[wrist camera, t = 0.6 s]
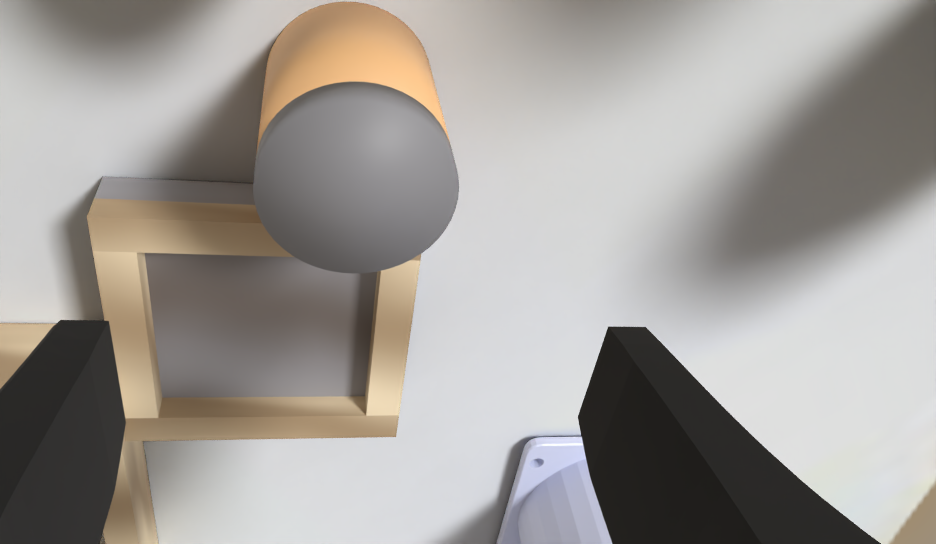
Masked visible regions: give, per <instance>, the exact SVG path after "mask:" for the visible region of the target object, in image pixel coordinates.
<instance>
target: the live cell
mask: <svg viewBox="0 0 936 544" xmlns="http://www.w3.org/2000/svg"><path fill="white" fill-rule="evenodd" d="M458 192H459V180H458V173H457V168H456V164H455V160H454V156H453V153H452V149H451V145H450V141H449V137H448V133H447V130H446V126H445V122H444V118H443V114H442V110H441V107H440V103H439V99H438V95H437V91H436V88H435V84H434V80H433V76H432V72H431V68H430V65H429V61H428V58H427V55H426V52H425V50H424V48H423V46H422V44H421V42H420V41H419V39H418V38H417V36H416V35H415V34H414V32H413V31H412V30H411V29H410V28H409V27H408V26H407V25H406V24H405V23H404V22H402V21H401V20H400V19H399V18H397V17H396V16H394V15H392V14H391V13H389V12H387V11H385V10H383V9H380V8H378V7H375V6H372V5H368V4H364V3H358V2H336V3H329V4H325V5H321V6H318V7H315V8H313V9H310V10H308V11H307V12H305V13H303V14H301V15H300V16H298V17H297V18H295V19H294V20H293V21H291V22H290V23H289V24H288V25H287V26H286V27H285V28H284V29H283V31H282V32H281V33H280V35H279V36H278V37H277V39H276V41H275V43H274V44H273V46H272V49H271V51H270V54H269V57H268V61H267V66H266V74H265V83H264V92H263V101H262V109H261V118H260V127H259V135H258V144H257V153H256V162H255V170H254V180H253V195H254V202H255V206H256V210H257V213H258V215H259V218H260V220H261V222H262V224H263V226H264V227H265V229H266V230H267V232H268V233H269V234H270V236H271V237H272V238H273V239H274V241H275V242H276V243H278V244H279V245H280V246H281V247H282V248H283V249H284V250H285V251H287V252H288V253H290V254H291V255H292V256H294V257H296V258H297V259H299V260H301V261H303V262H305V263H307V264H310V265H312V266H314V267H317V268H321V269H324V270H328V271H333V272H339V273H351V274H354V273H370V272H377V271H382V270H386V269H390V268H393V267H396V266H398V265H401V264H403V263H405V262H407V261H410V260H412V259H413V258H415V257H416V256H418V255H420V254H421V253H423V252H424V251H425V250H426V249H428V248H429V247H430V246H431V245H432V244H433V243H434V242H435V241H436V240H437V239H438V238H439V237H440V236H441V234H442V233H443V232H444V230H445V229H446V227H447V226H448V224H449V222H450V221H451V219H452V216H453V214H454V211H455V208H456V204H457V200H458Z"/></svg>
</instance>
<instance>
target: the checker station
mask: <svg viewBox="0 0 936 544" xmlns="http://www.w3.org/2000/svg"><path fill="white" fill-rule="evenodd" d="M87 222H88V228H89V233H90V239H91V245H92V251H93V257H94V262H95V268H96V274H97V280H98V286H99V292H100V297H101V303H102V309H103V315H104V321H109V324H110V330H111V336H112V342H113V348H114V354H115V360H116V366H117V372H118V378H119V384H120V390H121V396H122V402H123V407H124V413H125V419H126V426H125V432H124V438H123V445H122V451H121V458H120V464H119V469H118V475H117V481H116V486H115V491H114V495H113V498H112V502H111V505H110V509H109V512H108V516H107V519H106V523H105V526H104V529H103V534H104V538H105V543H106V544H158V538H157V531H156V525H155V518H154V511H153V505H152V498H151V492H150V485H149V478H148V472H147V465H146V459H145V452H144V445H143V441H176V440H236V439H296V438H356V437H396V433H397V425H398V418H399V411H400V404H401V396H402V389H403V382H404V375H405V368H406V360H407V353H408V346H409V339H410V331H411V324H412V317H413V310H414V303H415V295H416V288H417V281H418V274H419V266H420V259H421V254H420V255H418V256H416V257H415V258H413V259H412V260H410V261H407V262H405V263H403V264H401V265H398V266H396V267H393V268H390V269H386V270H382V271H377V272H370V273H354V274H351V273H339V272H333V271H328V270H324V269H321V268H317V267H314V266H312V265H310V264H307V263H305V262H303V261H301V260H299V259H297V258H296V257H294V256H292V255H291V254H290V253H288V252H287V251H285V250H284V249H283V248H282V247H281V246H280V245H279V244H278V243H276V242H275V241H274V239H273V238H272V237H271V236H270V234H269V233H268V232H267V230H266V229H265V227H264V226H263V224H262V222H261V220H260V218H259V215H258V213H257V210H256V206H255V202H254V195H253V184H251V183H230V182H208V181H187V180H165V179H144V178H122V177H102V180H101V182H100V185H99V187H98V190H97V192H96V195H95V197H94V200H93V202H92V205H91V207H90V210H89V213H88V215H87ZM54 325H55V324H29V323H0V389H1V388H2V386H3V385H4V384H5V383H6V382H7V381H8V380H9V378H10V377H11V376H12V375H13V374H14V373H15V371H16V370H17V369H18V368H19V367H20V366H21V364H22V363H23V362H24V361H25V360H26V358H27V357H28V356H29V355H30V354H31V352H32V351H33V350H34V349H35V348H36V346H37V345H38V344H39V343H40V342H41V340H42V339H43V338H44V337H45V336H46V334H47V333H48V332H49V331H50V329H51V328H52V327H53V326H54Z"/></svg>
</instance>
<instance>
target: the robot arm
mask: <svg viewBox="0 0 936 544" xmlns="http://www.w3.org/2000/svg"><path fill="white" fill-rule="evenodd" d="M578 420H579V425H580V430H581V436H582V437H538V438H534V439H531V440H530V441H528V442H527V443H526V445H525V446H524V449H523V453H522V456H521V460H520V463H519V466H518V470H517V473H516V477H515V480H514V484H513V487H512V491H511V494H510V498H509V501H508V505H507V508H506V512H505V515H504V518H503V522H502V525H501V529H500V532H499V536H498V539H497V543H496V544H881V543H879V542H878V541H877V540H875V539H874V538H872V537H871V536H870V535H868V534H867V533H866V532H864V531H863V530H862V529H860V528H859V527H858V526H857V525H855V524H854V523H853V522H852V521H850V520H849V519H848V518H847V517H845V516H844V515H843V514H841V513H840V512H839V511H838V510H836V509H835V508H834V507H833V506H831V505H830V504H829V503H828V502H826V501H825V500H824V499H822V498H821V497H820V496H819V495H818V494H816V493H815V492H814V491H813V490H812V489H811V488H809V487H808V486H807V485H806V484H805V483H803V482H802V481H801V480H800V479H799V478H798V477H797V476H796V475H794V474H793V473H792V472H791V471H790V470H789V469H788V468H787V467H786V466H784V465H783V464H782V463H781V462H780V461H779V460H778V459H777V458H776V457H774V456H773V455H772V454H771V453H770V452H769V451H768V450H767V449H766V448H765V447H764V446H762V445H761V444H760V443H759V442H758V441H757V440H756V439H755V438H754V437H753V436H752V435H751V434H750V433H749V432H748V431H747V430H746V429H745V428H744V427H743V426H742V425H741V424H740V423H739V422H738V421H736V420H735V419H734V418H733V417H732V416H731V415H730V414H729V413H728V412H727V411H726V410H725V409H724V408H723V407H722V406H721V404H720V403H719V402H718V401H717V400H716V399H715V398H714V397H713V396H712V395H711V394H710V393H709V392H708V391H707V390H706V389H705V388H704V387H703V386H702V385H701V384H700V383H699V382H698V381H697V380H696V379H695V378H694V377H693V376H692V375H691V374H690V372H689V371H688V370H687V369H686V368H685V367H684V366H683V365H682V364H681V363H680V362H679V361H678V360H677V359H676V358H675V357H674V356H673V355H672V354H671V353H670V352H669V350H668V349H667V348H666V347H665V346H664V345H663V344H662V343H661V342H660V341H659V340H658V339H657V338H656V337H655V336H654V335H653V334H652V333H651V332H650V331H649V330H648V329H647V328H646V327H608V329H607V332H606V335H605V338H604V341H603V344H602V347H601V350H600V353H599V356H598V359H597V362H596V365H595V368H594V371H593V374H592V377H591V380H590V383H589V386H588V389H587V392H586V395H585V398H584V400H583V403H582V406H581V409H580V412H579V415H578ZM125 426H126V419H125V413H124V407H123V402H122V396H121V390H120V384H119V378H118V372H117V366H116V360H115V354H114V348H113V342H112V336H111V330H110V324H109V321H88V320H60V321H59V322H58V323H57V324H55V325H54V326H53V327H52V328H51V329H50V331H49V332H48V333H47V334H46V336H45V337H44V338H43V339H42V340H41V342H40V343H39V344H38V345H37V346H36V348H35V349H34V350H33V351H32V352H31V354H30V355H29V356H28V357H27V358H26V360H25V361H24V362H23V363H22V364H21V366H20V367H19V368H18V369H17V370H16V371H15V373H14V374H13V375H12V376H11V377H10V378H9V380H8V381H7V382H6V383H5V384H4V385H3V386H2V388H1V389H0V544H99V543H100V540H101V536H102V533H103V529H104V526H105V523H106V519H107V516H108V512H109V509H110V505H111V502H112V498H113V495H114V491H115V486H116V481H117V475H118V469H119V464H120V458H121V451H122V445H123V438H124V432H125Z"/></svg>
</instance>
